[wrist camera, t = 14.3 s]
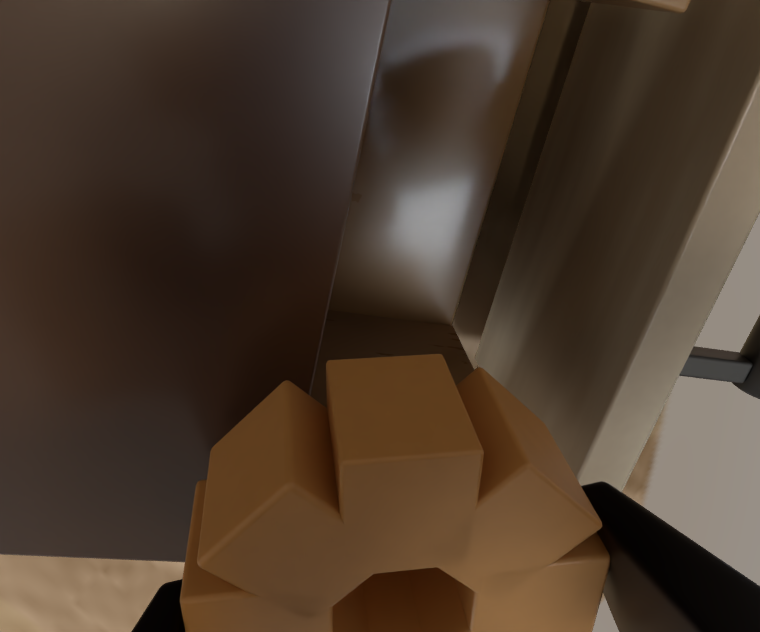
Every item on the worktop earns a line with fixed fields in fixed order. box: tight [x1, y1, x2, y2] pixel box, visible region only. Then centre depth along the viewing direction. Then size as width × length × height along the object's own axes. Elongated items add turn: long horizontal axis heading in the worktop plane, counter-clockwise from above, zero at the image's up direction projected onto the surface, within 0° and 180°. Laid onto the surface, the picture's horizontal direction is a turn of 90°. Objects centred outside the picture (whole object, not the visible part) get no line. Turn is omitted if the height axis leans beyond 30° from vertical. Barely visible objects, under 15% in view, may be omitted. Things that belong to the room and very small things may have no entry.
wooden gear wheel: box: [180, 354, 610, 632], centre depth 10 cm, size 6×6×2 cm
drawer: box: [310, 0, 760, 492], centre depth 14 cm, size 17×12×7 cm
